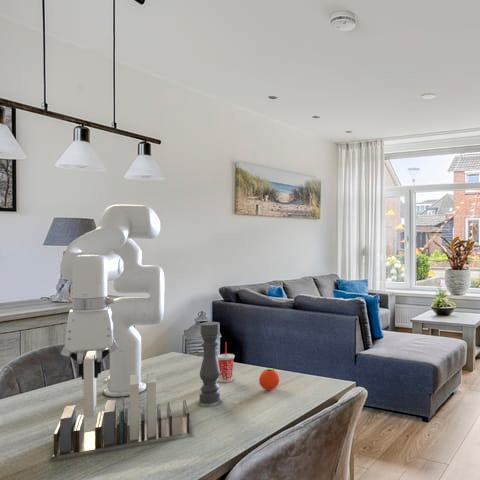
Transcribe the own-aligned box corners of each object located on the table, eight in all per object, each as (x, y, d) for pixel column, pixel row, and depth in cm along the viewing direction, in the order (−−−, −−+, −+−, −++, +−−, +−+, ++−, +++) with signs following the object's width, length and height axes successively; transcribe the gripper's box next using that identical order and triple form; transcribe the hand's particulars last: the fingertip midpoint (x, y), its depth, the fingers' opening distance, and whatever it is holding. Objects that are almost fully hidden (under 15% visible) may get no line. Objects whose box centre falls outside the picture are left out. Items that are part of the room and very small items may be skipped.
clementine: (264, 384, 159) (264, 364, 159) (283, 385, 158) (283, 365, 158) (255, 392, 152) (255, 371, 152) (275, 393, 150) (275, 372, 150)
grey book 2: (103, 445, 110) (103, 412, 110) (106, 431, 118) (106, 400, 118) (114, 443, 111) (114, 411, 111) (115, 429, 119) (115, 399, 119)
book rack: (52, 461, 104) (52, 422, 104) (60, 440, 115) (60, 405, 115) (190, 436, 117) (190, 402, 117) (185, 419, 128) (185, 388, 128)
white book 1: (83, 418, 108) (83, 360, 108) (87, 405, 117) (87, 351, 116) (93, 416, 109) (93, 359, 109) (96, 403, 117) (96, 350, 117)
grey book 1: (59, 452, 106) (60, 418, 106) (65, 437, 114) (65, 406, 114) (70, 451, 107) (71, 417, 107) (75, 436, 115) (75, 404, 115)
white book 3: (147, 437, 114) (147, 382, 114) (146, 424, 122) (146, 373, 122) (155, 436, 115) (156, 381, 115) (154, 423, 123) (155, 372, 123)
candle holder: (213, 407, 138) (213, 325, 138) (195, 405, 139) (195, 324, 139) (223, 400, 144) (224, 322, 144) (206, 398, 145) (206, 321, 145)
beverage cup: (219, 384, 160) (219, 344, 160) (214, 379, 165) (215, 341, 165) (236, 381, 163) (236, 342, 163) (231, 376, 168) (231, 339, 168)
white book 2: (129, 440, 112) (129, 384, 112) (130, 427, 120) (130, 375, 120) (138, 439, 113) (138, 383, 113) (138, 426, 121) (138, 374, 121)
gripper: (126, 300, 119) (126, 369, 120) (54, 303, 112) (54, 377, 113) (125, 304, 113) (125, 377, 113) (49, 308, 106) (49, 386, 106)
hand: (90, 376), depth 113 cm, fingers closed on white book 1, 2 cm apart
